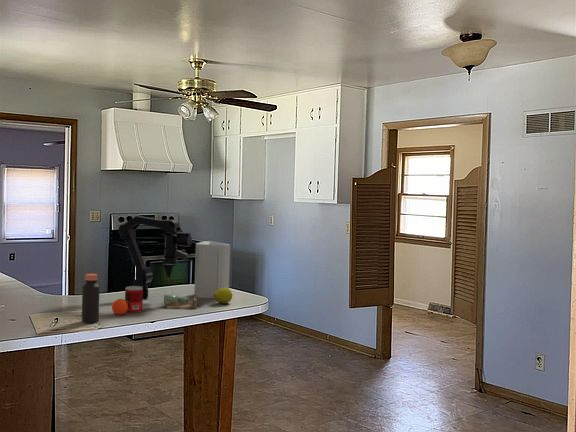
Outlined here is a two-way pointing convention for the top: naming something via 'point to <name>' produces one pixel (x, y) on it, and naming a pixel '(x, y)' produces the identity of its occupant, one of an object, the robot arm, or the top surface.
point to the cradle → (182, 304)
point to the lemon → (223, 295)
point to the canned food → (134, 298)
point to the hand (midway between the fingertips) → (169, 276)
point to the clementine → (120, 306)
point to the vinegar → (90, 299)
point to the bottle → (174, 298)
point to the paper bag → (211, 268)
